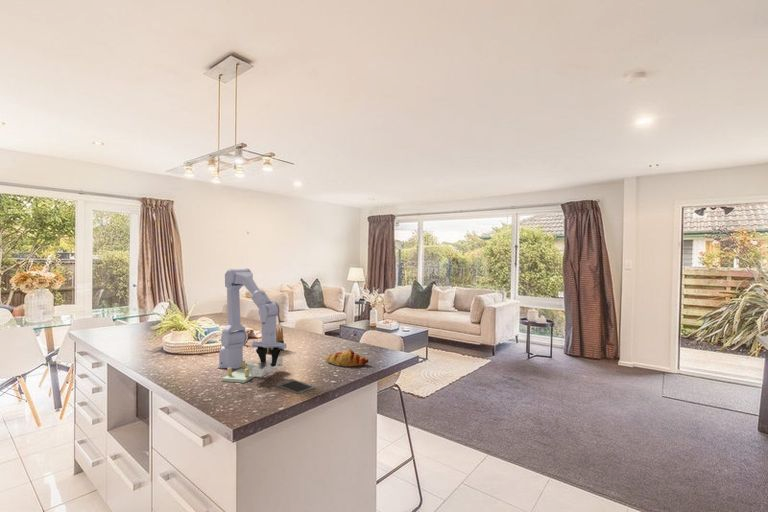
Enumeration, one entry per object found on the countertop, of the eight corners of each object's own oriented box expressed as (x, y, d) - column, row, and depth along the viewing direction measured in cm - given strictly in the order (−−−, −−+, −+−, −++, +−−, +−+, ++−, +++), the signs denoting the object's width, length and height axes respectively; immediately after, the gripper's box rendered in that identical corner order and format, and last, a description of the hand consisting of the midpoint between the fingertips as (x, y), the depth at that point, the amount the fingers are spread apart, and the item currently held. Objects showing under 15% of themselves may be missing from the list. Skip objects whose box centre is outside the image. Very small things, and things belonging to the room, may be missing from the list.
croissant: (323, 371, 166) (319, 358, 163) (331, 356, 175) (327, 343, 172) (366, 374, 161) (363, 360, 157) (372, 358, 169) (369, 345, 166)
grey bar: (263, 376, 139) (263, 369, 139) (250, 376, 140) (250, 368, 140) (284, 363, 157) (284, 356, 157) (273, 362, 158) (273, 355, 158)
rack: (221, 381, 143) (221, 370, 143) (249, 366, 163) (249, 357, 163) (244, 382, 141) (244, 372, 141) (270, 367, 161) (270, 358, 161)
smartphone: (316, 388, 136) (316, 387, 136) (298, 395, 129) (298, 393, 129) (292, 380, 145) (292, 378, 145) (274, 385, 139) (274, 384, 139)
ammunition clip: (268, 354, 183) (268, 330, 183) (266, 353, 184) (266, 330, 184) (284, 349, 192) (284, 327, 193) (281, 349, 193) (281, 326, 193)
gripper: (247, 333, 146) (247, 367, 146) (280, 335, 144) (280, 369, 143) (256, 330, 153) (256, 362, 153) (288, 331, 150) (288, 364, 150)
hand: (268, 365), depth 149 cm, fingers closed on grey bar, 4 cm apart
